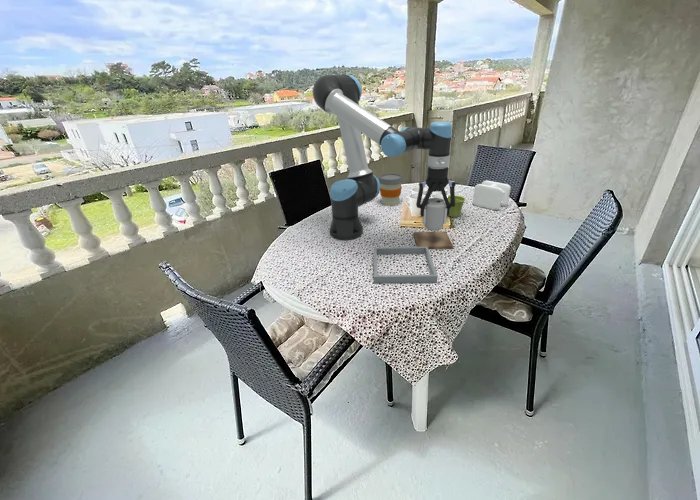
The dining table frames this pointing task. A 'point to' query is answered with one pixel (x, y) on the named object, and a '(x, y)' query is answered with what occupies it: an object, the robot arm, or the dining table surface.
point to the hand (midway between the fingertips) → (434, 222)
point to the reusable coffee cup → (390, 188)
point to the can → (435, 214)
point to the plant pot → (456, 206)
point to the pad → (433, 240)
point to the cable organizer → (491, 194)
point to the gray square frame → (405, 278)
